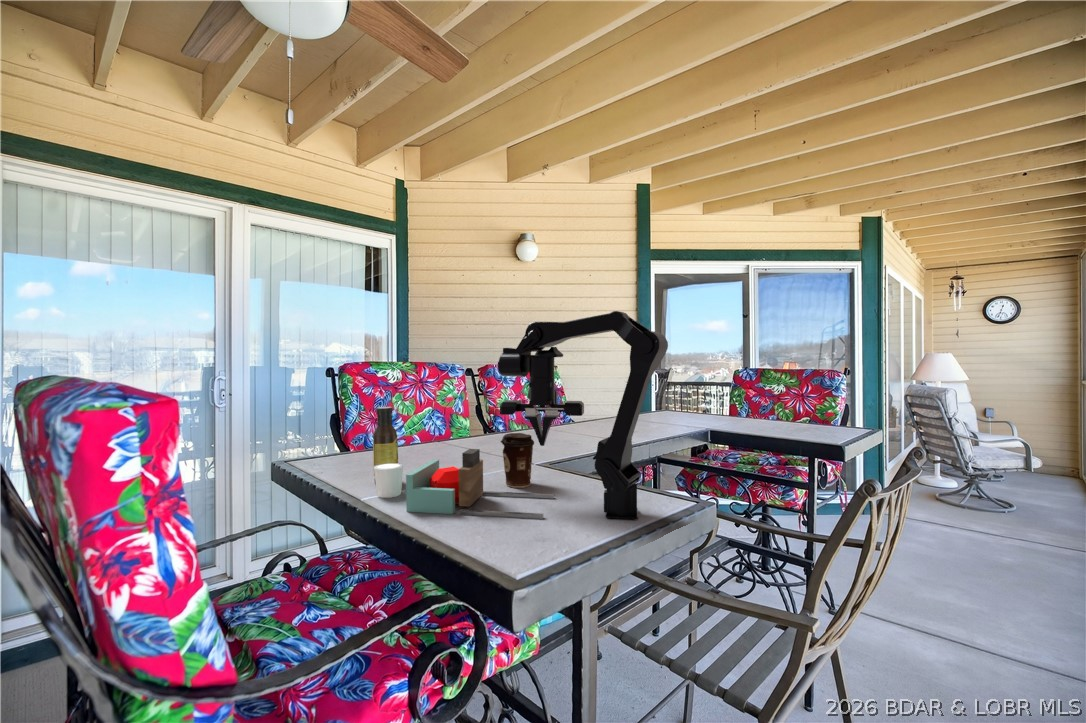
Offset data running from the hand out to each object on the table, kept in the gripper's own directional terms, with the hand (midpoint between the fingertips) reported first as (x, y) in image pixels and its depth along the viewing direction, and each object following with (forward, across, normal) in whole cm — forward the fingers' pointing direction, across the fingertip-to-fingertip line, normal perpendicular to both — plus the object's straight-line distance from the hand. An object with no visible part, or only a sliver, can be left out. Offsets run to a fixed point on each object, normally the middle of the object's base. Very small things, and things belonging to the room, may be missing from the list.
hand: (542, 445), depth 114 cm
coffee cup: (+13, +9, -13) cm, 21 cm away
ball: (+13, +21, +4) cm, 25 cm away
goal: (+13, +22, +4) cm, 26 cm away
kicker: (+13, +16, +4) cm, 21 cm away
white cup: (+13, +38, 0) cm, 40 cm away
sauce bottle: (+13, +44, -10) cm, 47 cm away
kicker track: (+13, +7, +4) cm, 15 cm away
